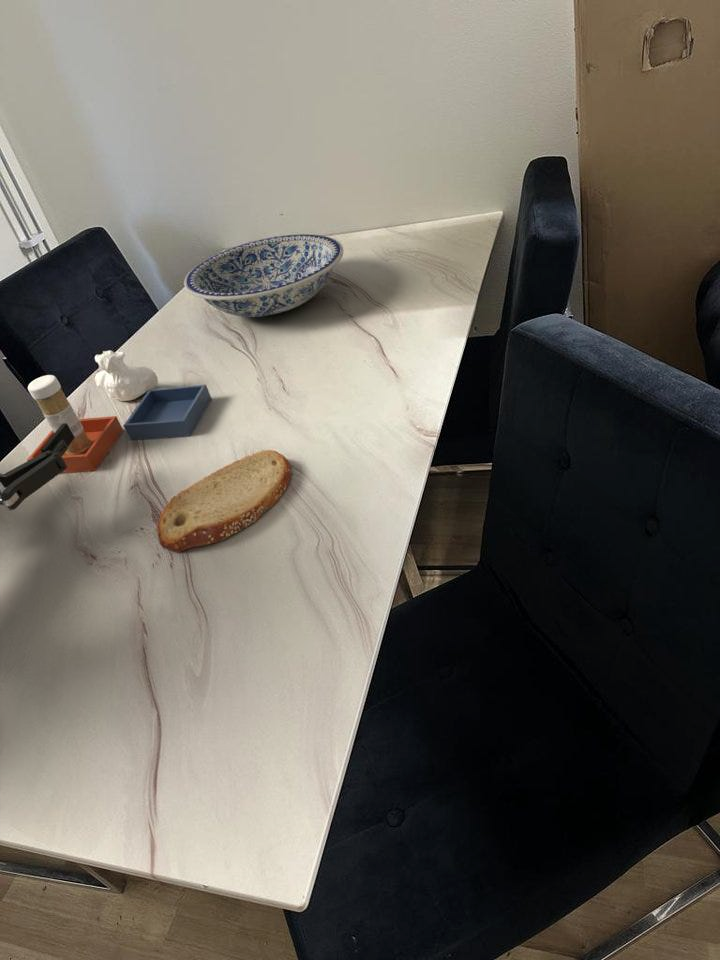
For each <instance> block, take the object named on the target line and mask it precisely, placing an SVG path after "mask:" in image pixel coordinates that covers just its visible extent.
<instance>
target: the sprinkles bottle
mask: <svg viewBox="0 0 720 960" xmlns="http://www.w3.org/2000/svg"><path fill="white" fill-rule="evenodd" d="M27 390H28V392H29V394H30V395H31V397H32V399H34V401H35V402H36V403H37V405H38V407H39V409H40V411H41V412H42V415H43V417H44V418H45V420H46V422H47V423H48V425H49V426H50V428H51V431H52V430H53V432H54V433H55V432H56V431H57V429H58V428H59V427H60V426H61V425H62V424H63V423H67V424H68V426H69V428H70V430H71V431H72V433H73V435H74V437H75V438H74V440H73V441H72V442H71V443H70V445H69V446H68V449H67V451H65V452H66V454H67V455H80V454H82V453H84V452H86V451H87V450H88V449H89V448H90V447H91V445H92V442H91V440H90V439H89V438H88V436H87V434H86V433H85V431H84V429H83V426H82V424H81V422H80V421H79V419H80V418H79V416H78V415H77V413H76V411H75V410H74V408H73V406H72V404H71V402H70V401H69V400H68V399H67V397H66V395H65V393H64V391H63V390H62V386H61V384H60V382H59V380H58V378H57V377H56V376H55V375H53V374H46V375H42V376H40V377H37V378H35V379H34V380H32V381H31V382H30V383H28V386H27Z"/></svg>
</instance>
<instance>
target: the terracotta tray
mask: <svg viewBox="0 0 720 960" xmlns="http://www.w3.org/2000/svg"><path fill="white" fill-rule="evenodd" d="M78 419H79V421H80V422H81V424H82V426H83V429H84V431H85V433H86V434H87V436H88V438H89V439H90V440H91V442H92V445H91V447H90V448H89V449H88V450H87V451H86V452H84V453H82V454H80V455H67V454H66V452H65V453H64V454H63V456H62V458H63V460H64V462H65V463H66V465H67V469H65V470H64V471H63V472H61V473H60V474H66V473H85V472H96V471H97V469H98V468H99V466H100V465H101V463H102V462H103V460H104V459H105V457H106V456H107V455H108V453H109V452H110V451H111V449H112V448H113V446H115V443H116V442H117V441H118V440H119V438H120V436H121V435H122V433H123V432H124V430H125V429H124V427H123V426H122V424H121V423H120V420H119V418H118V417H117V415H113V416H101V417H88V418H78ZM53 434H54V432H53V430H52V429H51V431H49V433H48V434H47V435H46V436H45V438H44V439H43V440H42V441H41V442H40V443H39V445H38V446H37V447H36V448H35V450H34V451H33V452H32V453H31V455H29V457H28V458H27V459H26V462H27V461H29V460H31V459H32V458H34V457H36V456H38V455H40V454H42V452H41V449H42V448H43V446H44V445H45V444H46V443H47V442H48V440H49V439H50V438H51V437H52V436H53Z"/></svg>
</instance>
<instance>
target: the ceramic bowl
mask: <svg viewBox="0 0 720 960" xmlns="http://www.w3.org/2000/svg"><path fill="white" fill-rule="evenodd" d="M344 250H345V249H344V247H343V244H342V243H341V242H340V241H339V240H337V239H335V238H333V237H330V236H326V235H322V234H312V233H311V234H310V233H309V234H308V233H307V234H306V233H297V234H287V235H285V234H284V235H279V236H272V237H266V238H261V239H257V240H253V241H249V242H245V243H242V244H239V245H236V246H233V247H231V248H230V247H229V248H228V249H225V250H222V251H221V252H218V253H216V254H214V255H212V256H210V257H208V258H206V259H205V260H203V261H202V262H200V263H198V264H197V265H196V266H194V267H193V268H192V269H190V271H189V272H188V273H187V274H186V276H185V278H184V282H183V283H184V287H185V290H186V291H187V292H188V294H190V295H192V296H194V297H196V298H200V299H203V300H204V301H205V302H207V303H208V304H209V305H211V306H212V307H213V308H215V309H217V310H218V311H221V312H224V313H225V314H229V315H233V316H236V317H243V318H245V317H246V318H256V317H267V316H273V315H277V314H281V313H283V312H287V311H291V310H292V309H295V308H297V307H300V306H301V305H304V304H305V303H307V302H309V301H310V300H311V299H312V298H313V297H315V296H316V295H317V294H318V293H319V292H320V291H321V290H322V289H323V288H324V286H325V285H326V283H327V282H328V280H329V278H330V276H331V274H332V273H333V269H334V267H335V266H337V265H338V263H339V262H340V261H341V260H342V258H343V256H344Z"/></svg>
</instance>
